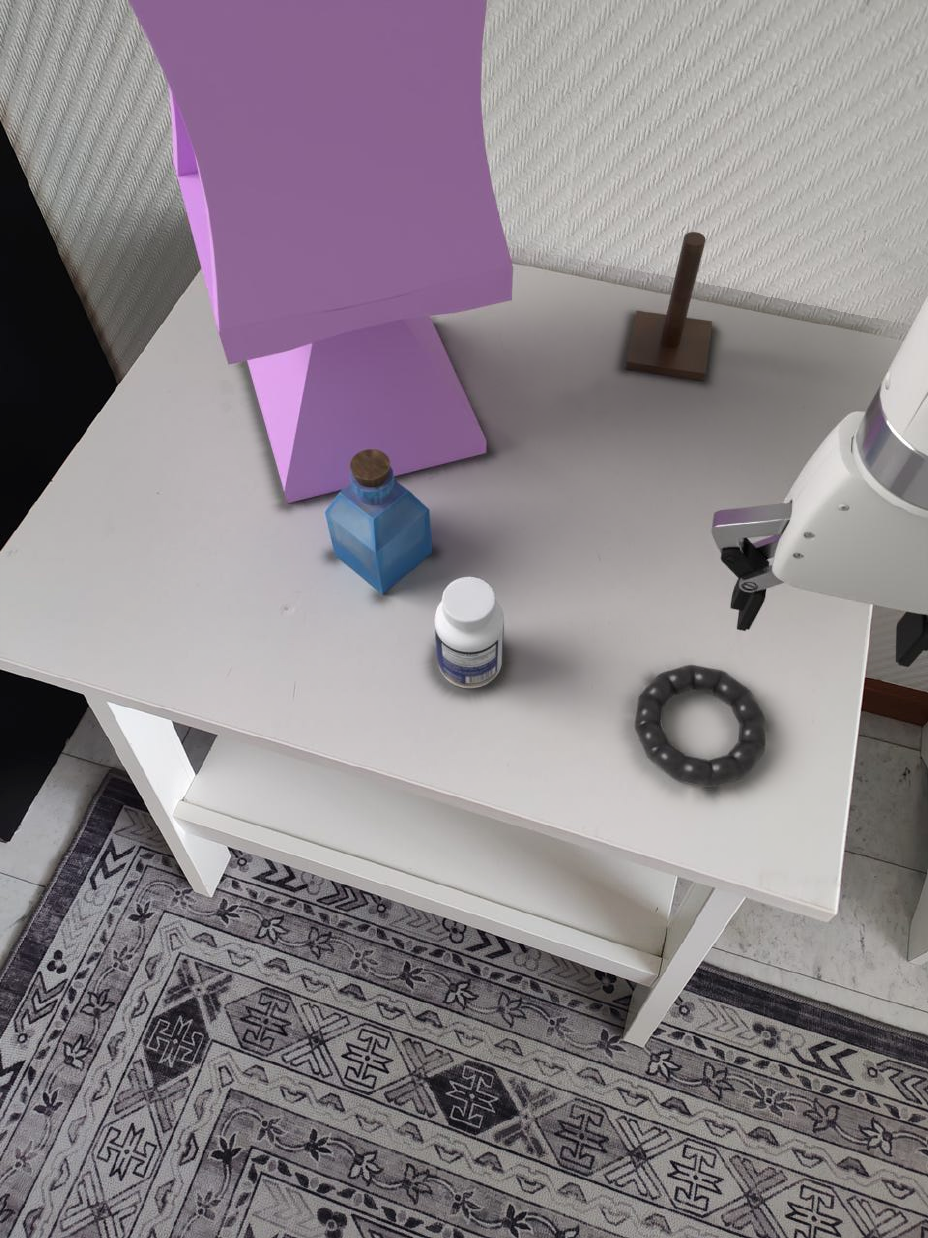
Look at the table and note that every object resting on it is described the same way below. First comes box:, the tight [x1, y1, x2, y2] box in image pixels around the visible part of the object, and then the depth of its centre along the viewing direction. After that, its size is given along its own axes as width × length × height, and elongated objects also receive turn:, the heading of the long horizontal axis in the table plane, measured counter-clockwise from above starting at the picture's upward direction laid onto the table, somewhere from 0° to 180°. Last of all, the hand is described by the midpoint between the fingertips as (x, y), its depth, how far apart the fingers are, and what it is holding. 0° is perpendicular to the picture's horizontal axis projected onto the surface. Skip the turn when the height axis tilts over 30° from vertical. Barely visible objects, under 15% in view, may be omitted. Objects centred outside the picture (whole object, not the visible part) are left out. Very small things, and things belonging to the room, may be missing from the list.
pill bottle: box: [433, 576, 505, 689], centre depth 69 cm, size 5×5×10 cm
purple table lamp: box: [128, 0, 514, 504], centre depth 70 cm, size 22×22×45 cm
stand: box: [625, 231, 713, 381], centre depth 87 cm, size 8×8×13 cm
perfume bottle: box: [324, 449, 433, 596], centre depth 74 cm, size 6×6×12 cm
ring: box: [634, 664, 768, 788], centre depth 69 cm, size 10×10×2 cm
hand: (821, 628), depth 55 cm, fingers open, 9 cm apart
